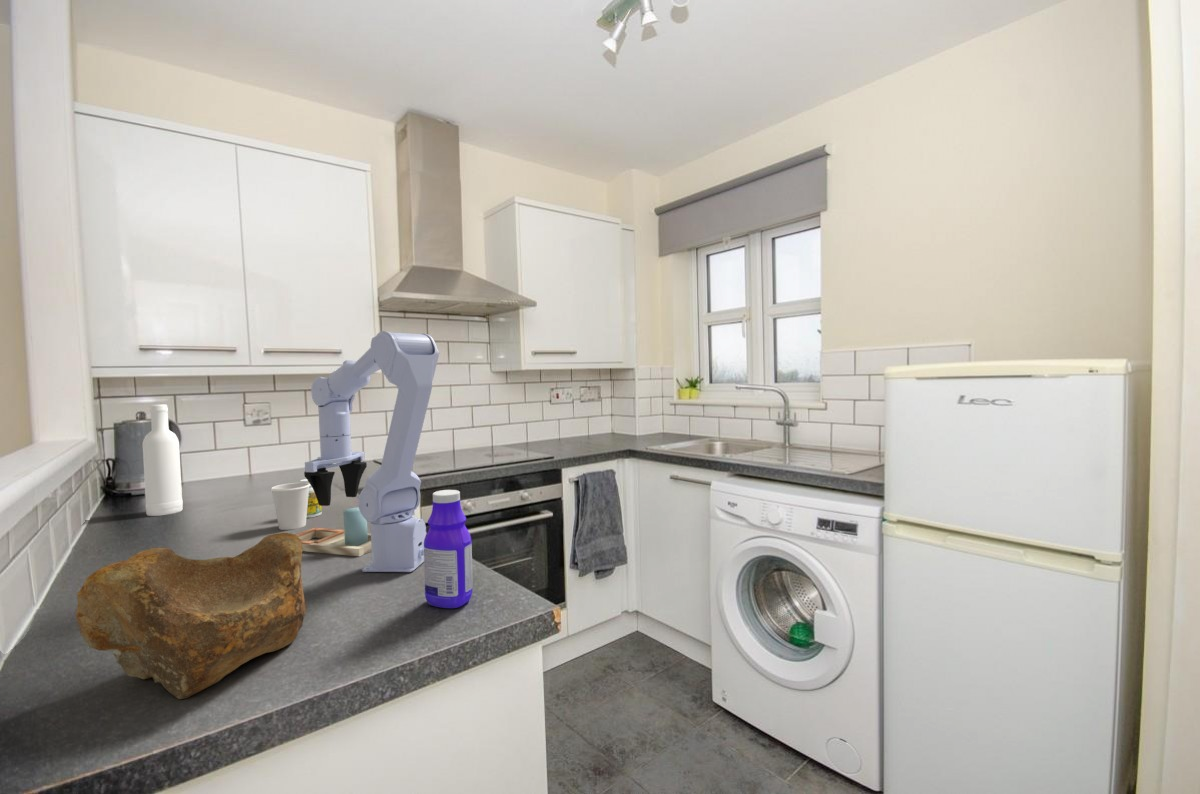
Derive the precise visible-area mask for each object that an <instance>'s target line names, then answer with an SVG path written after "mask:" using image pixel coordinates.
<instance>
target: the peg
mask: <svg viewBox="0 0 1200 794" xmlns="http://www.w3.org/2000/svg"><path fill="white" fill-rule="evenodd" d="M343 526H344V527H343V530H344V534H345V545H346V546H357V547H358V546H360V545H362V544H365V543H367V542H368V533H369V532H368V522H367V521H366V519H365V518H364V517H363V516H362V515H361V513H360V510H359V506H357V507H349V508H347V509H344V510H343Z"/></svg>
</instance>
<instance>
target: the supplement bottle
mask: <svg viewBox="0 0 1200 794" xmlns="http://www.w3.org/2000/svg"><path fill="white" fill-rule="evenodd" d="M299 483H309V481H308V480H307V479H306V478H304V479H300V480H299ZM309 484H310V483H309ZM322 507H323V506H319V503H318V500H317V497H316V495H315V492H314V490H313V488H312V486H311V484H310V486H309V495H308V507H307V518H306V519H309V518H311V519H312V518H315V517H316V518H317V517H319V516H321V515H322V514H323V508H322Z"/></svg>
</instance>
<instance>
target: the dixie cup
mask: <svg viewBox="0 0 1200 794" xmlns="http://www.w3.org/2000/svg"><path fill="white" fill-rule="evenodd" d="M309 486H310V484H309V483H300V482H292V483H291V482H290V483H283V484H278V485H274V486H272V487H271V488H270V491H271V494H272V499H273V504H274V509H275V510H274V511H275V516H276V520H277V525H278V529H279V530H281V531H282V530H283V531H287V530H288V531H290V530H296V529H300V528H303V527H306V526H307V519H308V518H307V507H308V495H309Z"/></svg>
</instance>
